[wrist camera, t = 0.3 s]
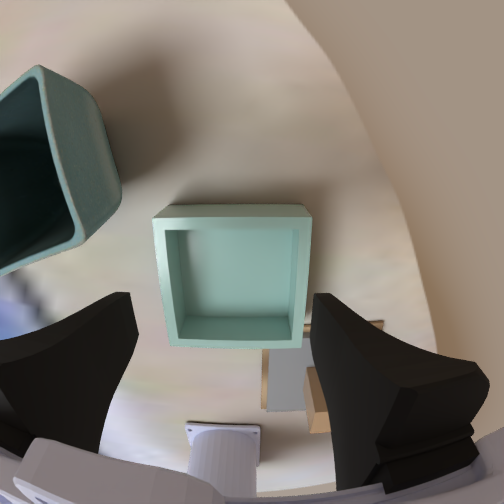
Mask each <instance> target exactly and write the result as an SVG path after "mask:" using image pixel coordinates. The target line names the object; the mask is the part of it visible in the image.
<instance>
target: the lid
mask: <svg viewBox="0 0 504 504" xmlns="http://www.w3.org/2000/svg"><path fill="white" fill-rule="evenodd" d="M309 337H310V332H303V337H302V346H301V348H282V349H269V358H268V382H267V403H266V409H267V412H283V411H304V410H306V412H307V418H308V424H309V430H310V434H313V433H324V432H331V428H330V422H329V415H328V410H327V406H326V401H325V398H324V395H323V391H322V388H321V385H320V381H319V378H318V375H317V371H316V368H315V365H314V361H313V357H312V351H311V344H310V338H309Z"/></svg>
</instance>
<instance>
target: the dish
mask: <svg viewBox="0 0 504 504" xmlns="http://www.w3.org/2000/svg"><path fill="white" fill-rule="evenodd" d="M152 223H153V233H154V243H155V251H156V260H157V268H158V275H159V282H160V289H161V296H162V302H163V309H164V315H165V321H166V326H167V332H168V337H169V343H170V346H179V347H198V348H229V349H282V348H301V346H302V337H303V328H304V318H305V308H306V297H307V286H308V274H309V261H310V247H311V232H312V216H311V215H310V214H309V212H308V211H307V210H306V208H305V207H304V205H303V204H193V205H168V206H167V207H165V208H164V209H163V210H162V211H160V212H159V213H158V214H157V215H156V216H154V217H153V218H152Z"/></svg>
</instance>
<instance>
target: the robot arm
mask: <svg viewBox="0 0 504 504" xmlns="http://www.w3.org/2000/svg"><path fill="white" fill-rule="evenodd" d="M138 336H139V332H138V328H137V324H136V320H135V315H134V311H133V306H132V301H131V297H130V292H115V293H112V294H110V295H108V296H106V297H104V298H102V299H100V300H98V301H96V302H94V303H93V304H91V305H89V306H87V307H85V308H84V309H82V310H80V311H78V312H76V313H74V314H72V315H70V316H68V317H66V318H65V319H63V320H61V321H59V322H56V323H54V324H52V325H50V326H47V327H45V328H42V329H40V330H37V331H34V332H31V333H27V334H24V335H21V336H18V337H14V338H9V339H5V340H0V504H504V427H502V428H500V429H498V430H497V431H495V432H493V433H490V434H488V435H486V436H484V437H482V438H481V439H479V440H478V441H477V442H475V443H474V442H473V440H472V438H471V437H470V436H472V435H473V434H474V429H473V427H472V425H471V424H470V423H471V422H472V420H473V419H474V417H475V416H476V414H477V413H478V411H479V410H480V408H481V406H482V405H483V403H484V401H485V399H486V397H487V395H488V391H489V387H490V383H489V380H488V378H487V377H486V375H485V374H484V373H483V372H482V370H481V369H480V368H479V366H478V365H477V364H476V363H475V362H472V361H466V360H461V359H455V358H450V357H446V356H442V355H439V354H435V353H432V352H429V351H426V350H423V349H420V348H418V347H415V346H413V345H410V344H408V343H405V342H403V341H401V340H399V339H397V338H395V337H393V336H391V335H389V334H387V333H385V332H384V331H382V330H380V329H379V328H377V327H376V326H374V325H372V324H371V323H369V322H368V321H366V320H365V319H364V318H362V317H361V316H359V315H358V314H357V313H355V312H354V311H353V310H351V309H350V308H349V307H347V306H346V305H345V304H344V303H342V302H341V301H340V300H339V299H337V298H336V297H335V296H333V295H332V294H330V293H314V299H313V309H312V319H311V328H310V337H309V338H310V344H311V351H312V357H313V361H314V365H315V368H316V371H317V375H318V378H319V381H320V385H321V388H322V391H323V395H324V398H325V401H326V406H327V410H328V415H329V422H330V428H331V435H332V443H333V451H334V461H335V472H336V489H337V491H335V492H327V493H320V494H311V495H300V496H285V497H256V467H258V466H259V457H260V427H259V426H256V425H217V424H201V423H186V424H185V430H186V433H187V436H188V440H189V443H190V447H191V453H190V459H189V465H188V471H187V473H182V472H178V471H173V470H169V469H165V468H161V467H156V466H150V465H144V464H139V463H134V462H129V461H124V460H120V459H116V458H111V457H107V456H103V455H100V454H98V451H99V445H100V440H101V436H102V431H103V427H104V423H105V419H106V416H107V413H108V409H109V406H110V403H111V400H112V398H113V395H114V393H115V391H116V389H117V386H118V384H119V382H120V380H121V378H122V376H123V374H124V372H125V370H126V368H127V366H128V363H129V361H130V359H131V357H132V355H133V352H134V349H135V346H136V343H137V339H138Z"/></svg>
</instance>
